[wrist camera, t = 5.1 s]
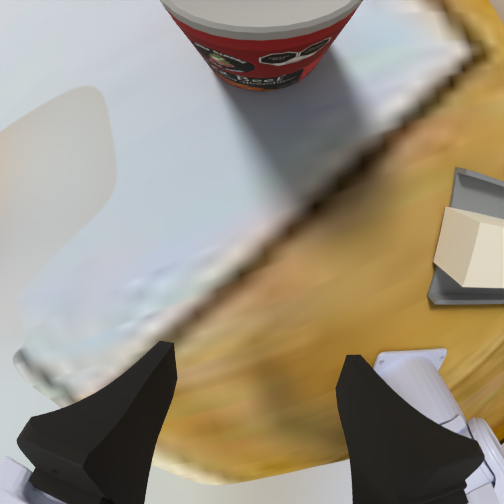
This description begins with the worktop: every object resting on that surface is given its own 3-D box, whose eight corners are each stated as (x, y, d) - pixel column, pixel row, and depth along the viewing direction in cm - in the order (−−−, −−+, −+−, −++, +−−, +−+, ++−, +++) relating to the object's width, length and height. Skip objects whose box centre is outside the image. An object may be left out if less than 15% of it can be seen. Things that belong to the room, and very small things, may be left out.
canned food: (183, 65, 17) (107, 0, 6) (243, -19, 14) (227, -119, 4) (285, 115, 18) (312, 79, 7) (341, 27, 15) (404, -56, 5)
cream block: (433, 262, 20) (501, 267, 20) (462, 287, 16) (529, 288, 16) (445, 206, 19) (513, 221, 19) (480, 222, 15) (545, 237, 15)
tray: (511, 296, 22) (519, 303, 20) (427, 295, 22) (434, 304, 20) (537, 195, 18) (547, 199, 16) (455, 167, 18) (466, 169, 17)
